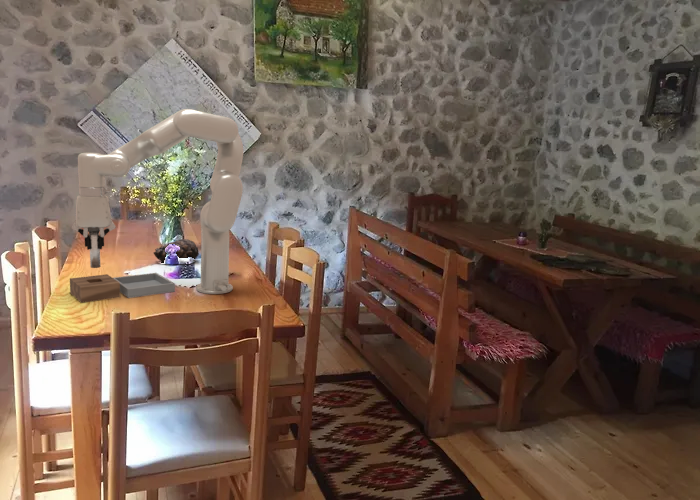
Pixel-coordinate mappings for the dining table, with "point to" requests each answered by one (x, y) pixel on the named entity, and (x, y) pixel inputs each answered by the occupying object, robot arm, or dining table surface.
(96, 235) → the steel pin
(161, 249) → the pine cone
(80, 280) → the walnut block
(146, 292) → the grey tray
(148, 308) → the dining table surface
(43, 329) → the dining table surface
